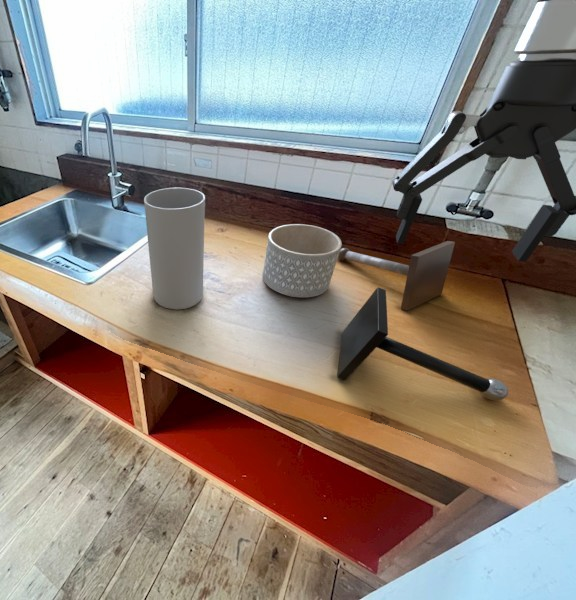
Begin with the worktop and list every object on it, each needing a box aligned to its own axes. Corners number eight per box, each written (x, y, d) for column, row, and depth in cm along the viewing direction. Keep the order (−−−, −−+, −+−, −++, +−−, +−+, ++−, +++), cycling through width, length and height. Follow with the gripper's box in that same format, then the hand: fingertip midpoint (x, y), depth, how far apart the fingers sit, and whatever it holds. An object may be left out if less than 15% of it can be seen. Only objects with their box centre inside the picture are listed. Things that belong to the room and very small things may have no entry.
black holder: (336, 378, 59) (358, 325, 51) (341, 333, 68) (360, 283, 60) (511, 432, 50) (572, 378, 42) (490, 372, 59) (536, 318, 51)
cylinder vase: (212, 299, 79) (217, 200, 64) (168, 317, 74) (162, 214, 59) (185, 276, 88) (184, 184, 72) (144, 291, 83) (134, 195, 68)
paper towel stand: (441, 295, 77) (469, 247, 70) (406, 311, 73) (432, 262, 65) (352, 251, 95) (367, 209, 88) (320, 262, 91) (332, 219, 83)
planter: (249, 282, 84) (254, 238, 77) (285, 260, 93) (293, 218, 85) (305, 310, 74) (317, 263, 67) (340, 283, 83) (355, 238, 75)
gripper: (719, 50, 30) (563, 251, 43) (409, 61, 39) (357, 224, 52) (795, 50, 25) (591, 280, 37) (417, 62, 34) (356, 244, 46)
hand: (455, 248), depth 45 cm, fingers open, 13 cm apart
